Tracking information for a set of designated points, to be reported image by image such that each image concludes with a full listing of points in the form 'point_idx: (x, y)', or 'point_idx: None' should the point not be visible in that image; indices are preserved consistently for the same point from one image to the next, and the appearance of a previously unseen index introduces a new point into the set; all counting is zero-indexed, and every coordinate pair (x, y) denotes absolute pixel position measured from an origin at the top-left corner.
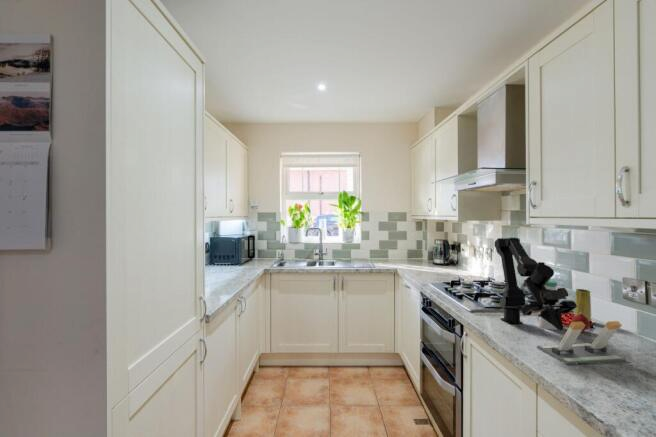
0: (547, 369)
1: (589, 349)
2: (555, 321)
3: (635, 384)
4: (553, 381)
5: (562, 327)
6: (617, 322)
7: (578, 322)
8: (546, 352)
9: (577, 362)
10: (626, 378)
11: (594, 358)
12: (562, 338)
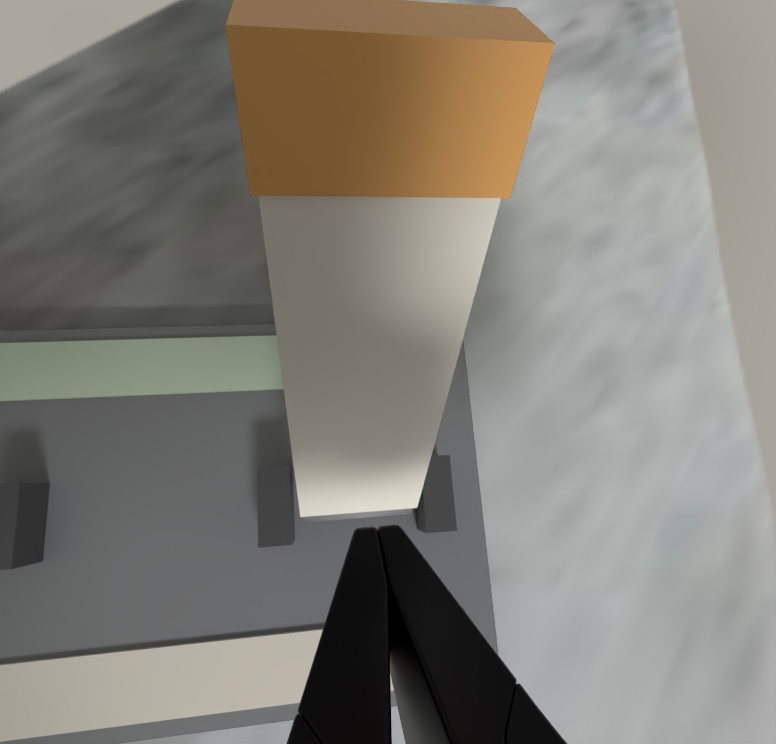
0: (640, 281)
1: (29, 502)
2: (498, 659)
3: (201, 57)
4: (688, 152)
5: (364, 548)
6: None
7: (366, 22)
8: (482, 545)
9: None
10: (179, 118)
11: (147, 359)
12: (440, 421)
